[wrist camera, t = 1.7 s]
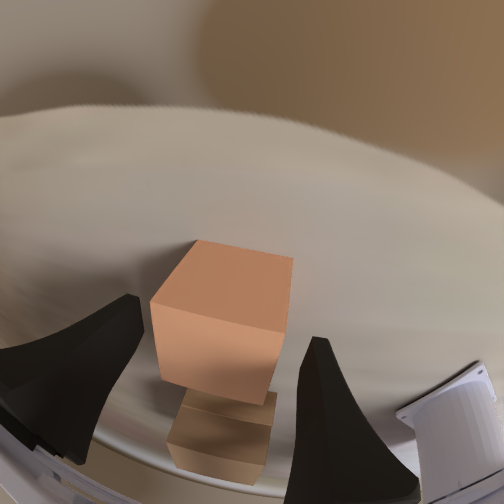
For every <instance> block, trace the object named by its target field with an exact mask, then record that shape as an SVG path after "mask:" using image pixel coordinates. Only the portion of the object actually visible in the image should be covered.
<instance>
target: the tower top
mask: <svg viewBox="0 0 504 504" xmlns="http://www.w3.org/2000/svg"><path fill="white" fill-rule="evenodd" d="M271 427H272V426H270V425H264V424H258V423H252V422H247V421H242V420H237V419H232V418H227V417H223V416H219V415H214V414H210V413H206V412H202V411H199V410H195V409H191V408H188V407H184V406H180V408H179V411H178V413H177V415H176V418H175V420H174V423H173V425H172V428H171V430H170V433H169V435H168V438H167V440H166V444H167V446H168V449H169V451H170V454H171V456H172V458H173V460H174V463H175V465H176V467H177V468H179V469H183V470H186V471H189V472H193V473H197V474H200V475H204V476H208V477H212V478H216V479H221V480H225V481H230V482H235V483H241V484H246V485H252V486H253V485H254V484H255V482H256V480H257V479H258V477H259V475H260V473H261V472H262V470H263V468H264V466H265V462H266V457H267V451H268V445H269V439H270V433H271Z"/></svg>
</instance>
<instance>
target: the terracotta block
mask: <svg viewBox="0 0 504 504" xmlns="http://www.w3.org/2000/svg"><path fill="white" fill-rule="evenodd" d="M292 266H293V258H289V257H284V256H279V255H274V254H269V253H264V252H259V251H254V250H248V249H243V248H238V247H233V246H228V245H223V244H218V243H213V242H207V241H202V240H197V242H196V243H195V244H194V245H193V247H192V248H191V249H190V250H189V252H188V253H187V254H186V255H185V257H184V258H183V259H182V260H181V262H180V263H179V264H178V265H177V267H176V268H175V269H174V270H173V272H172V273H171V274H170V276H169V277H168V278H167V279H166V281H165V282H164V283H163V285H162V286H161V287H160V289H159V290H158V291H157V293H156V294H155V295H154V296H153V298H152V299H151V300H150V308H151V316H152V324H153V331H154V338H155V345H156V351H157V357H158V363H159V369H160V374H161V379H162V380H165V381H168V382H171V383H174V384H177V385H180V386H184V387H187V388H190V389H194V390H197V391H201V392H205V393H209V394H212V395H216V396H220V397H224V398H229V399H233V400H238V401H242V402H247V403H252V404H257V405H262V406H263V404H264V401H265V398H266V395H267V392H268V389H269V385H270V382H271V379H272V376H273V373H274V370H275V367H276V363H277V360H278V357H279V354H280V350H281V347H282V344H283V340H284V337H285V334H286V325H287V316H288V307H289V297H290V287H291V277H292Z"/></svg>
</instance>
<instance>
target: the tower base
mask: <svg viewBox="0 0 504 504" xmlns="http://www.w3.org/2000/svg"><path fill="white" fill-rule="evenodd" d="M276 399H277V393H276V392H270V391H268V392H267V395H266V398H265V401H264V404H263V406H262V405H257V404H252V403H247V402H242V401H238V400H233V399H229V398H224V397H220V396H216V395H212V394H209V393H205V392H201V391H197V390H194V389H190V388H187V390H186V393H185V395H184V398H183V400H182V403H181V406H184V407H188V408H191V409H195V410H199V411H202V412H206V413H210V414H214V415H219V416H223V417H227V418H232V419H237V420H242V421H247V422H252V423H258V424H264V425H270V426H272V425H273V419H274V412H275V406H276Z"/></svg>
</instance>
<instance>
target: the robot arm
mask: <svg viewBox="0 0 504 504" xmlns="http://www.w3.org/2000/svg"><path fill="white" fill-rule="evenodd" d="M143 334H144V326H143V320H142V313H141V306H140V299H139V297H137V296H134V295H130V294H126V295H124V296H122V297H120V298H118V299H117V300H115V301H113V302H112V303H110V304H108V305H107V306H105V307H103V308H102V309H100V310H98V311H97V312H95V313H93V314H91V315H90V316H88V317H86V318H84V319H83V320H81V321H79V322H77V323H75V324H73V325H71V326H70V327H68V328H66V329H63V330H61V331H59V332H57V333H54V334H52V335H50V336H47V337H45V338H42V339H39V340H36V341H33V342H30V343H26V344H23V345H19V346H14V347H10V348H4V349H0V485H1V486H2V487H3V489H4V490H5V491H6V492H7V493H8V494H9V495H10V496H11V497H12V498H13V499H14V501H15V502H17V504H96V503H95V502H93V501H91V500H90V499H88V498H86V497H85V496H83V495H81V494H80V493H78V492H76V491H74V490H72V489H71V488H69V487H67V486H66V485H64V484H63V483H62V482H61V478H60V476H61V477H62V478H64V479H65V480H67V481H68V482H70V483H72V484H73V485H75V486H77V487H78V488H80V489H82V490H83V491H85V492H87V493H89V494H90V495H92V496H94V497H96V498H98V499H100V500H102V501H103V502H105V503H107V504H143V503H140V502H137V501H135V500H133V499H130V498H128V497H126V496H124V495H121V494H119V493H117V492H115V491H113V490H111V489H109V488H107V487H105V486H103V485H101V484H99V483H97V482H95V481H93V480H92V479H90V478H88V477H86V476H84V475H82V474H81V473H79V472H78V471H76V470H74V469H73V468H71V467H69V466H68V465H66V464H65V463H63V462H62V461H60V460H58V459H57V458H55V455H58V456H59V457H61V458H64V457H65V458H67V459H69V460H70V461H72V462H73V463H75V464H77V465H83V464H85V462H86V457H87V453H88V449H89V445H90V441H91V439H92V435H93V432H94V429H95V426H96V424H97V421H98V418H99V416H100V413H101V411H102V409H103V406H104V404H105V402H106V399H107V397H108V395H109V393H110V391H111V390H112V388H113V386H114V384H115V383H116V381H117V380H118V378H119V376H120V375H121V373H122V372H123V370H124V368H125V367H126V365H127V364H128V362H129V361H130V359H131V357H132V356H133V354H134V353H135V351H136V349H137V347H138V345H139V343H140V340H141V338H142V336H143ZM496 400H497V398H496V395H495V392H494V390H493V387H492V384H491V381H490V379H489V376H488V373H487V371H486V368H485V366H484V364H483V362H478V363H476V364H475V365H473V366H472V367H471V368H469V369H468V370H466V371H465V372H463V373H462V374H461V375H459V376H458V377H456V378H454V379H453V380H451V381H450V382H448V383H447V384H445V385H443V386H442V387H440V388H438V389H437V390H435V391H433V392H432V393H430V394H428V395H426V396H425V397H423V398H421V399H419V400H417V401H416V402H414V403H412V404H410V405H408V406H406V407H404V408H402V409H400V410H398V411H397V412H396V414H395V415H396V418H397V419H399V420H400V421H402V422H403V423H405V424H406V425H408V426H409V427H411V428H412V429H414V430H415V435H416V441H417V448H418V455H419V463H420V471H421V481H422V492H423V504H504V431H503V428H502V425H501V422H500V419H499V416H498V413H497V410H496V407H495V404H494V403H495V402H496ZM420 501H421V495H420V484H419V478H418V477H416V476H415V475H414V474H413V473H412V472H411V471H410V470H409V469H408V468H406V467H405V466H404V465H403V464H402V463H401V462H400V461H399V460H398V459H397V458H396V457H395V456H394V455H393V453H392V452H391V451H390V450H389V449H388V448H387V446H386V445H385V444H384V443H383V441H382V440H381V439H380V438H379V436H378V435H377V434H376V432H375V431H374V430H373V428H372V427H371V425H370V424H369V422H368V421H367V419H366V418H365V416H364V415H363V413H362V411H361V410H360V408H359V406H358V404H357V403H356V401H355V399H354V397H353V395H352V393H351V391H350V389H349V387H348V385H347V383H346V381H345V379H344V376H343V374H342V372H341V370H340V367H339V365H338V363H337V360H336V358H335V355H334V353H333V350H332V347H331V345H330V342H329V340H328V339H327V338H321V337H314V336H312V339H311V342H310V344H309V347H308V349H307V352H306V354H305V357H304V359H303V362H302V364H301V367H300V371H299V378H298V386H297V411H296V440H295V449H294V455H293V461H292V467H291V472H290V477H289V482H288V487H287V491H286V495H285V499H284V504H418V503H419V502H420Z"/></svg>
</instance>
